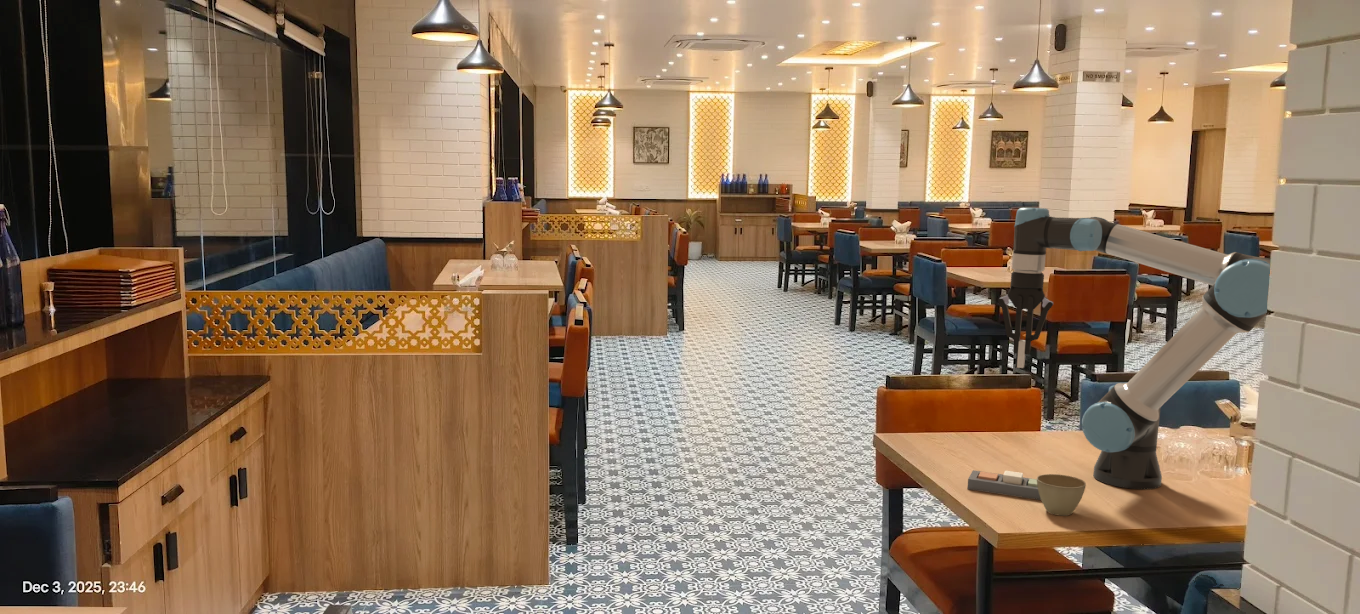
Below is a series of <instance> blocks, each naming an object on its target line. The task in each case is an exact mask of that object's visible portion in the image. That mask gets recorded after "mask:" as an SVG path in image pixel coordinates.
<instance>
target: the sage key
mask: <svg viewBox="0 0 1360 614" xmlns="http://www.w3.org/2000/svg"><path fill="white" fill-rule="evenodd" d="M1036 479H1037V478H1031V479H1029V481H1028V486H1033V487H1038V486H1037V480H1036Z"/></svg>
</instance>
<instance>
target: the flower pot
mask: <svg viewBox="0 0 1360 614" xmlns="http://www.w3.org/2000/svg"><path fill="white" fill-rule="evenodd" d="M1036 479H1037V486H1038V491H1039V495H1040V498H1041V500H1040V501H1041V503H1042V505H1043V506H1044V508H1045V510H1046V512H1048V513H1049V514H1051V515H1056V516H1060V517H1061V516H1063V517H1066V516H1070V515H1072V514H1073V512H1074V511H1075V510H1076V509H1077V507H1079V504H1080V502H1081V500H1082V498H1083V495H1084V494H1085V490H1086V486H1087V483H1086V481H1084V480H1083V479H1081V478H1078V477H1076V476H1072V475H1066V474H1059V473H1058V474H1057V473H1056V474H1053V473H1047V474H1046V473H1045V474H1040V475H1038V476H1037V477H1036Z"/></svg>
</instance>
